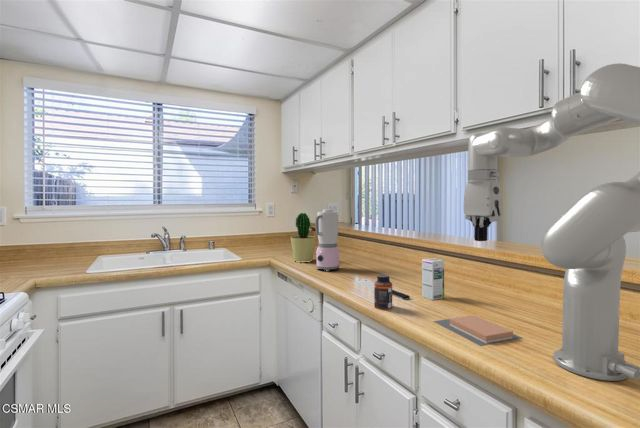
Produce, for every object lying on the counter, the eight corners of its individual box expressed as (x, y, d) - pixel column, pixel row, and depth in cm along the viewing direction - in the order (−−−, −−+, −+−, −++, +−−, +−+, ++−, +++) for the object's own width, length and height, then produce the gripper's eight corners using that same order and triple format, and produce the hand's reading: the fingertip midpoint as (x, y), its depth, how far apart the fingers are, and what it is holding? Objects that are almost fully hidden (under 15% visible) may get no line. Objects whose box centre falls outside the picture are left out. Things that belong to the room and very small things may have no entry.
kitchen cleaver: (347, 282, 148) (366, 277, 152) (348, 285, 148) (367, 280, 153) (391, 300, 120) (413, 294, 124) (392, 305, 120) (413, 298, 124)
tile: (474, 321, 99) (512, 338, 87) (449, 325, 96) (485, 343, 84) (474, 315, 99) (513, 331, 87) (449, 318, 96) (485, 336, 84)
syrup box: (432, 300, 122) (433, 261, 121) (421, 296, 127) (421, 258, 126) (444, 298, 124) (444, 259, 123) (432, 294, 129) (433, 257, 129)
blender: (326, 266, 187) (326, 209, 186) (344, 269, 179) (343, 209, 178) (307, 270, 175) (307, 209, 174) (325, 273, 167) (325, 210, 166)
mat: (523, 340, 87) (523, 338, 87) (480, 348, 82) (480, 345, 82) (470, 317, 104) (470, 315, 104) (433, 323, 99) (433, 321, 99)
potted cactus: (317, 259, 210) (316, 211, 209) (314, 263, 195) (314, 212, 194) (293, 258, 212) (292, 211, 211) (288, 263, 196) (288, 212, 195)
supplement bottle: (395, 310, 111) (395, 277, 110) (378, 312, 109) (378, 277, 109) (387, 305, 116) (388, 273, 116) (371, 306, 115) (371, 274, 115)
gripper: (515, 175, 90) (513, 243, 91) (471, 178, 104) (470, 237, 105) (494, 175, 88) (493, 244, 88) (452, 178, 101) (451, 238, 102)
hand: (480, 240), depth 97 cm, fingers closed
